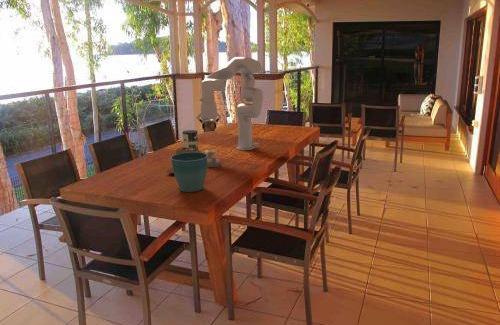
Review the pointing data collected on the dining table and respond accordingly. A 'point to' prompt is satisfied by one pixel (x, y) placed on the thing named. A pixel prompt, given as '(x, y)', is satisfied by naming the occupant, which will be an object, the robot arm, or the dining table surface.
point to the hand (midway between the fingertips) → (209, 129)
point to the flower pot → (190, 170)
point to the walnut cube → (209, 125)
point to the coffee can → (190, 139)
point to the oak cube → (211, 155)
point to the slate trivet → (213, 163)
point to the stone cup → (178, 150)
